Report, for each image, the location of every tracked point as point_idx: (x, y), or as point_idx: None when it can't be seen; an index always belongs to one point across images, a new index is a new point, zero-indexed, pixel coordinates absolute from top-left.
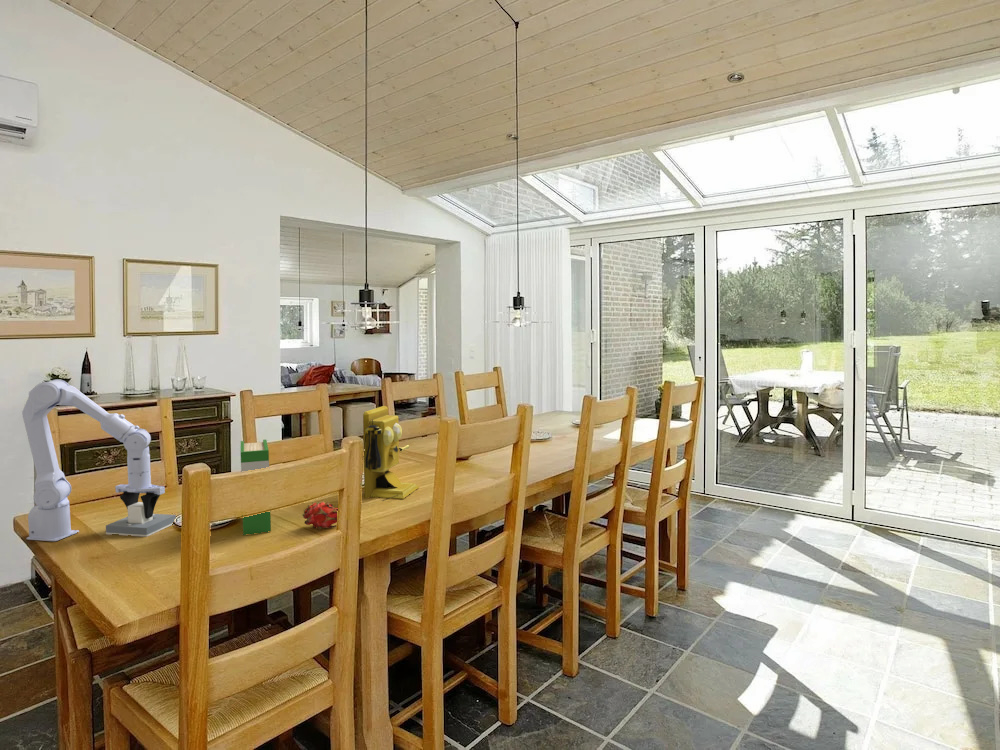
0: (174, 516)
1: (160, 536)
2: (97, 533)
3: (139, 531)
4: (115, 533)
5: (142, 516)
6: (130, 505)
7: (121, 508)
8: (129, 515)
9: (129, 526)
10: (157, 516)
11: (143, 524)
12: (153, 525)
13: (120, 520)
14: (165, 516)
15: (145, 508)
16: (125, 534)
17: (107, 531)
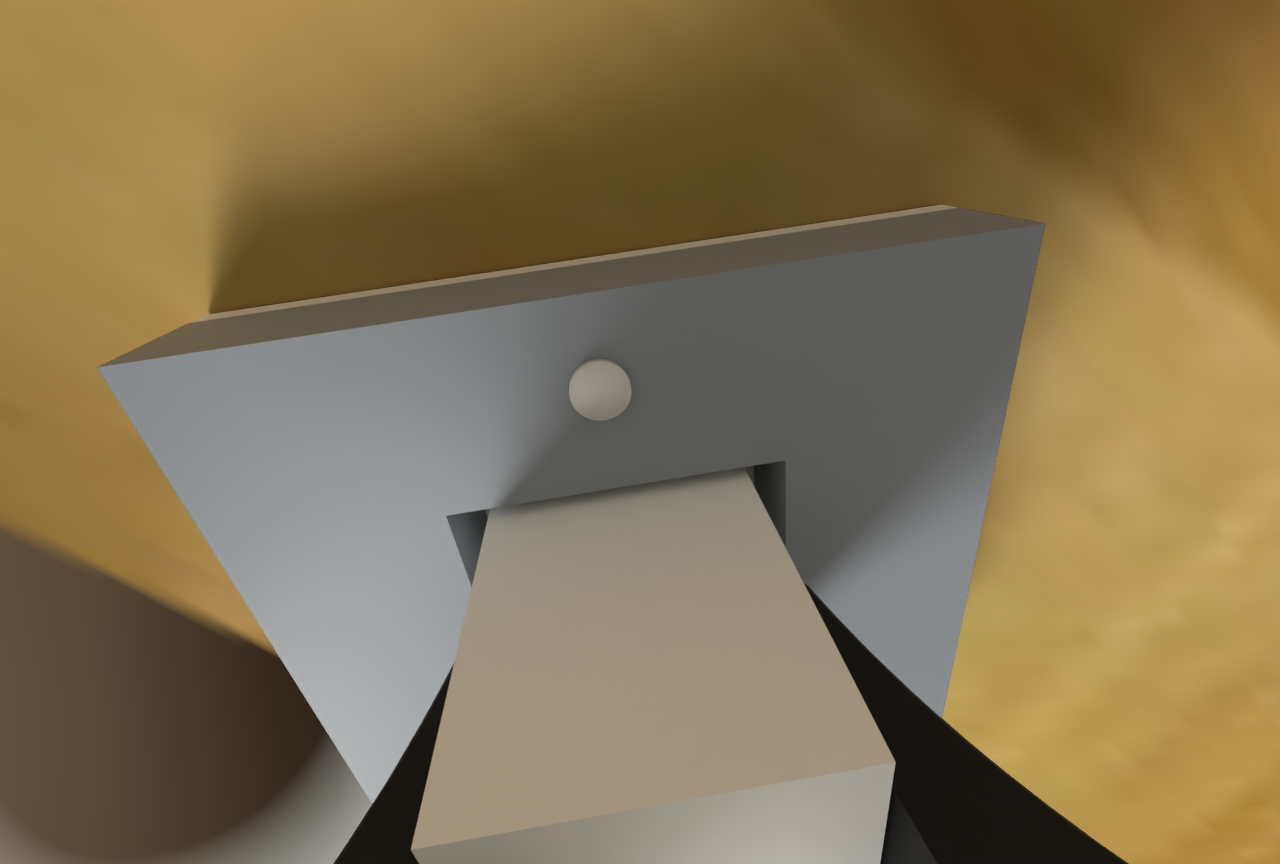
0: None
1: (32, 393)
2: (1094, 190)
3: (309, 319)
4: (780, 231)
5: (476, 627)
6: (864, 818)
7: (1232, 780)
8: (756, 570)
9: (533, 330)
10: None
11: (391, 490)
12: (204, 523)
13: (948, 503)
14: None
15: (402, 835)
16: (595, 256)
17: (940, 214)
